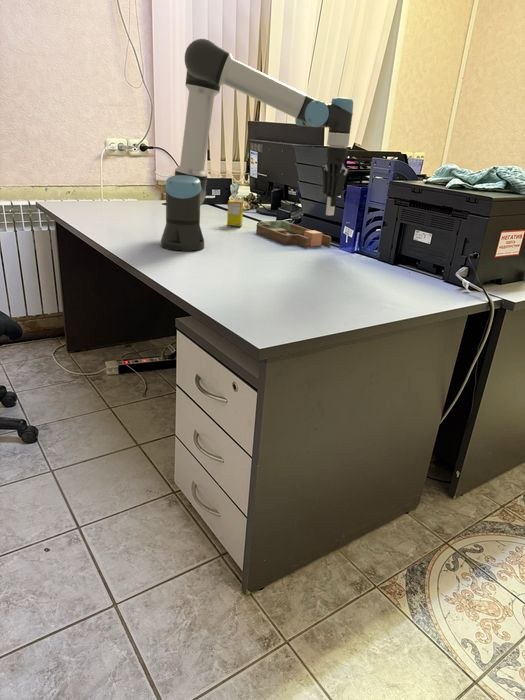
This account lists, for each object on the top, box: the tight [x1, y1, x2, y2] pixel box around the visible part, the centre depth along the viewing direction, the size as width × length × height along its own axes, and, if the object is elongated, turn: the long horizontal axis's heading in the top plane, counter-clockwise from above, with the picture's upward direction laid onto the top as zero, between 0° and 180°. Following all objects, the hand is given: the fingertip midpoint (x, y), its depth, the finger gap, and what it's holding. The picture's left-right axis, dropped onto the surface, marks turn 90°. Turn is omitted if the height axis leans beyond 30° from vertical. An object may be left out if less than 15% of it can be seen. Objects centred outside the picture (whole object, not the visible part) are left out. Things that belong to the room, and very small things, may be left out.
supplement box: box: [226, 198, 244, 228], centre depth 218 cm, size 6×6×11 cm
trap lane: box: [255, 220, 332, 248], centre depth 206 cm, size 17×34×4 cm, turn 32°
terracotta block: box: [304, 229, 323, 247], centre depth 197 cm, size 5×5×5 cm
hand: (329, 214), depth 187 cm, fingers closed
